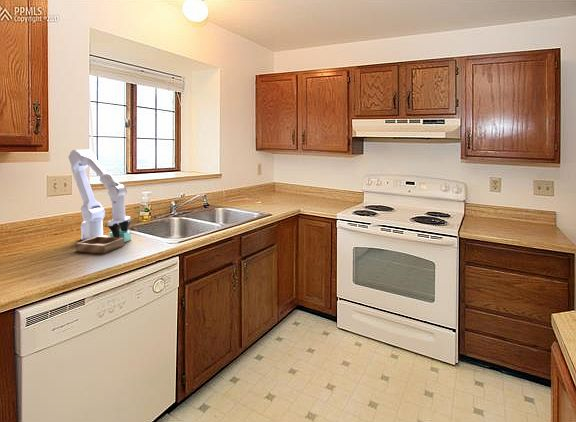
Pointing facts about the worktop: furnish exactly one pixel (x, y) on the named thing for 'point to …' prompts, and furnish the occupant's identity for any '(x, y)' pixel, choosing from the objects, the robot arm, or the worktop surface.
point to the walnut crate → (100, 244)
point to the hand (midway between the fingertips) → (120, 237)
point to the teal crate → (123, 235)
